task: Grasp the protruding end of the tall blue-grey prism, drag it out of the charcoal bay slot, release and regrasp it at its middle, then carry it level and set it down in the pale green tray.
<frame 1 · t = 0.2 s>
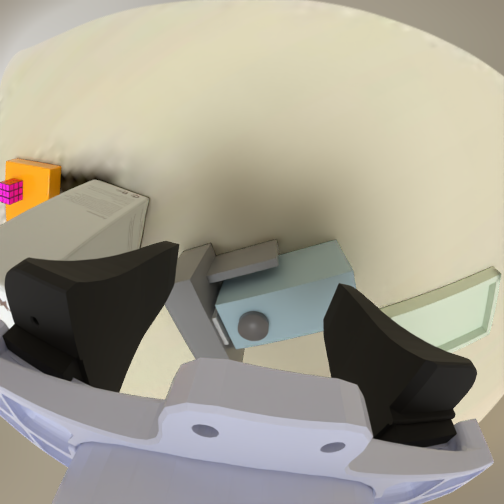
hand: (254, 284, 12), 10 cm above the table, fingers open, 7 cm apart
orange flat block: (39, 197, 22), on the table
tray: (440, 319, 23), on the table
bay: (264, 282, 23), on the table
skincare box: (117, 231, 22), on the table
tall blue-grey prism: (287, 275, 23), on the table
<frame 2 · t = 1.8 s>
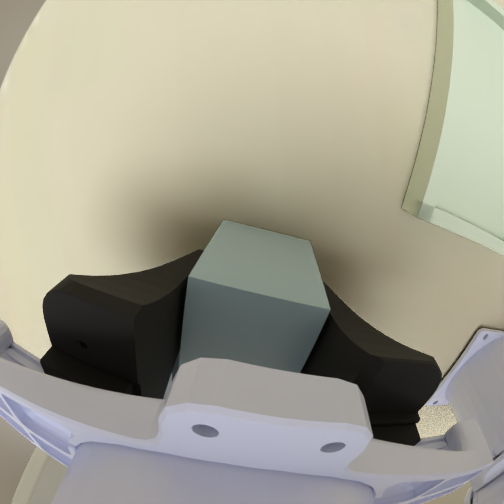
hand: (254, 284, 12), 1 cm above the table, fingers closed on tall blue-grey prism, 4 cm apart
tray: (490, 110, 9), on the table
skincare box: (124, 399, 19), on the table
tall blue-grey prism: (245, 310, 14), on the table, touching gripper
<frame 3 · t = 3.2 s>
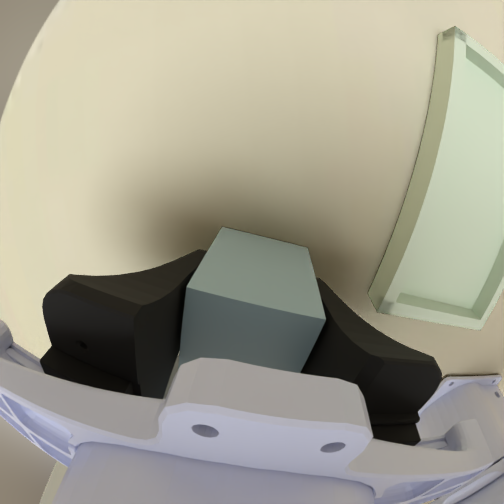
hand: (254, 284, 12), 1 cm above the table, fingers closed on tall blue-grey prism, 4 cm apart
tray: (474, 188, 10), on the table
skincare box: (129, 423, 21), on the table
tall blue-grey prism: (244, 316, 14), on the table, touching gripper
when the fingers open (1 cm above the table, at t = 4.4 s): tall blue-grey prism stays where it is, on the table.
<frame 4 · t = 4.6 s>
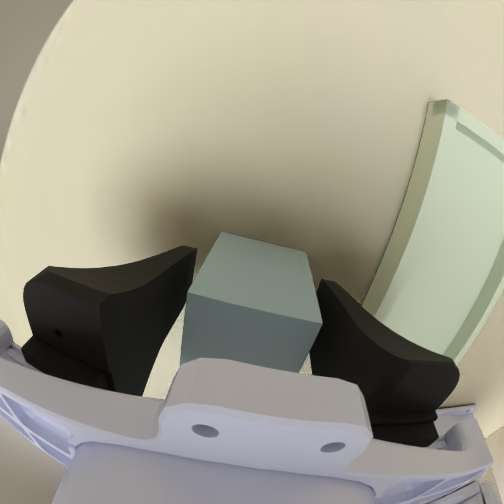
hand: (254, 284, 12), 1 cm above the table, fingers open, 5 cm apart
tray: (448, 261, 12), on the table
vase 2: (502, 431, 22), on the table
tall blue-grey prism: (243, 317, 15), on the table
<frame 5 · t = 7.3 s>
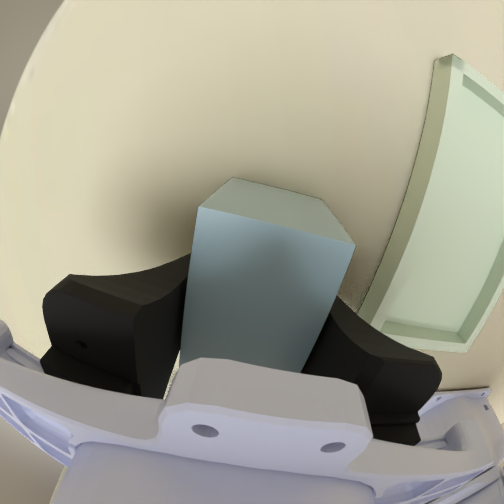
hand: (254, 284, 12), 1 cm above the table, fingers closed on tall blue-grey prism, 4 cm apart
tray: (464, 219, 11), on the table
tall blue-grey prism: (254, 278, 13), on the table, touching gripper
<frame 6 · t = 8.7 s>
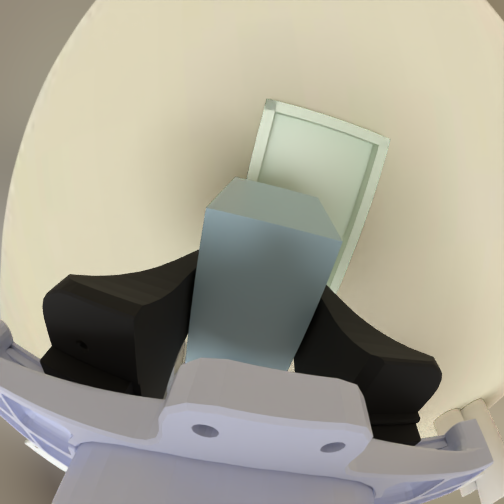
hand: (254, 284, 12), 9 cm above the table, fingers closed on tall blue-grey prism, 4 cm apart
tray: (299, 215, 20), on the table
vase 2: (457, 415, 30), on the table
tall blue-grey prism: (255, 269, 15), point 6 cm above the table, touching gripper
when the fingers open (3 cm above the table, at t = 10.4 s): tall blue-grey prism stays where it is, resting on tray.
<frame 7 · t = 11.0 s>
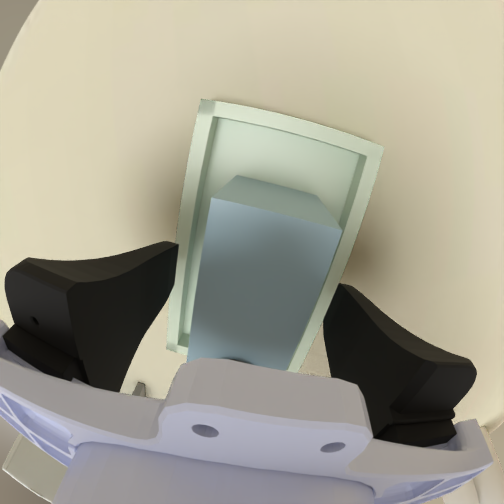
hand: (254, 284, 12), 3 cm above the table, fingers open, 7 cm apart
tray: (259, 253, 15), on the table
vase 2: (457, 443, 25), on the table
skincare box: (74, 407, 26), on the table
tall blue-grey prism: (255, 266, 15), resting on tray
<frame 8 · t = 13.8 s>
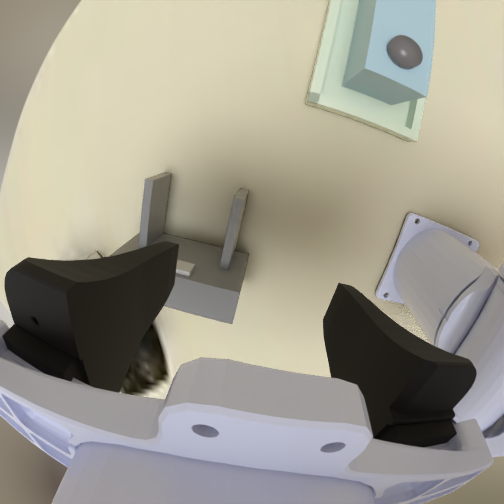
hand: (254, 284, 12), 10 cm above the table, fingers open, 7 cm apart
tray: (375, 42, 15), on the table
bay: (200, 205, 21), on the table
tall blue-grey prism: (376, 46, 14), resting on tray
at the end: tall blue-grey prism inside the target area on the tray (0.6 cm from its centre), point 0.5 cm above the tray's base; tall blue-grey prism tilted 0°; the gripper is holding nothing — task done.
